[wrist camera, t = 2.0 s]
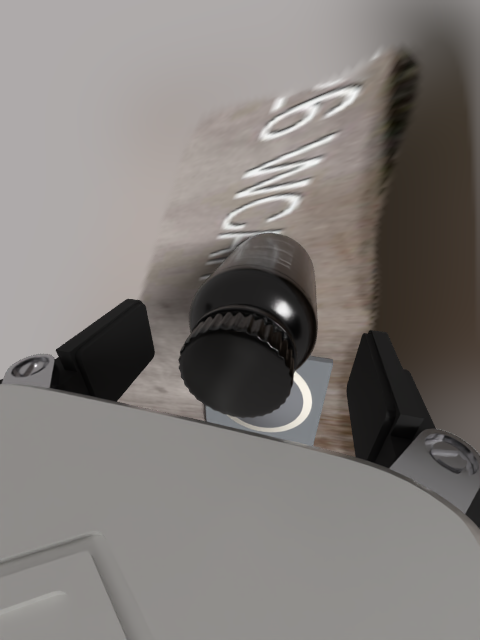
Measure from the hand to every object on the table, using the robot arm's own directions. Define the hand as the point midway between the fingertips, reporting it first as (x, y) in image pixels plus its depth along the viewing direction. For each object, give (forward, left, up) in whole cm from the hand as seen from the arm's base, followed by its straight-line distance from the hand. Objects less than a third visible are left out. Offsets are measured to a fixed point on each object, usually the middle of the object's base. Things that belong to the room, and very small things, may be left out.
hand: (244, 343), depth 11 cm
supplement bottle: (-1, 0, -11) cm, 11 cm away
